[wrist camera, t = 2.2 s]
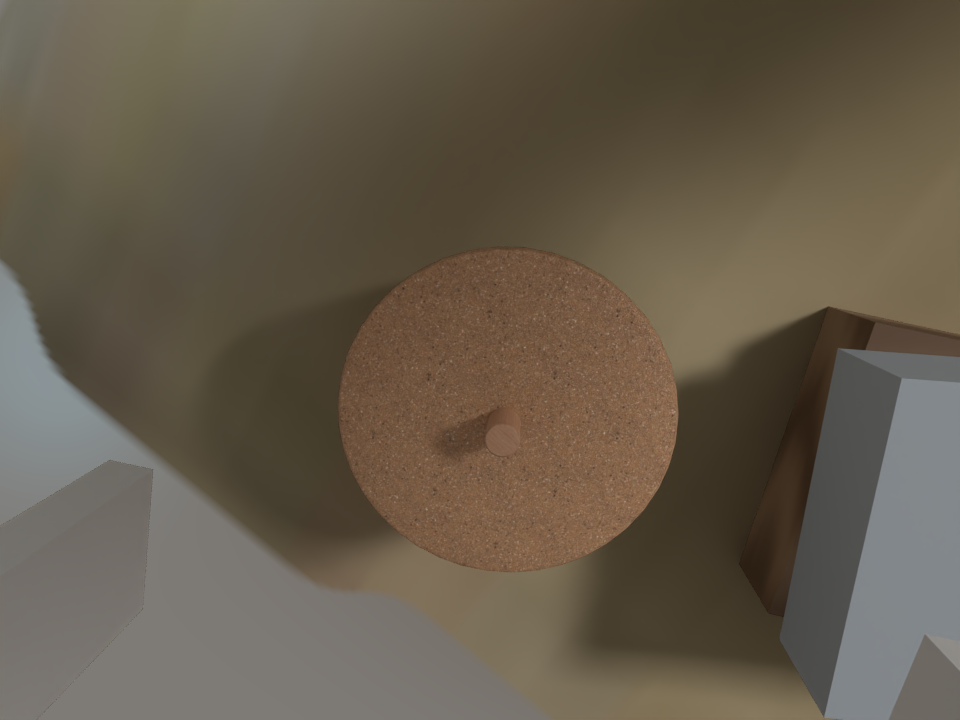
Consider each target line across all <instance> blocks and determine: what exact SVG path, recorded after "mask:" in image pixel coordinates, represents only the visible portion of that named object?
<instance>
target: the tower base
mask: <svg viewBox="0 0 960 720" xmlns="http://www.w3.org/2000/svg"><path fill="white" fill-rule="evenodd" d="M838 348H840V349H854V350H868V351H882V352H896V353H910V354H924V355H937V356H951V357H960V335H959V334H954V333H949V332H945V331H940V330H935V329H931V328H926V327H921V326H917V325H912V324H907V323H903V322H898V321H894V320H889V319H884V318H880V317H875V316H870V315H866V314H861V313H856V312H852V311H847V310H842V309H838V308H833V307H828V309H827V312H826V315H825V318H824V321H823V324H822V327H821V330H820V332H819V335H818V338H817V341H816V344H815V347H814V350H813V353H812V355H811V358H810V361H809V364H808V367H807V370H806V373H805V376H804V378H803V381H802V384H801V387H800V390H799V393H798V396H797V399H796V402H795V404H794V407H793V410H792V413H791V416H790V419H789V422H788V425H787V427H786V430H785V433H784V436H783V439H782V442H781V445H780V448H779V450H778V453H777V456H776V459H775V462H774V465H773V468H772V471H771V474H770V476H769V479H768V482H767V485H766V488H765V491H764V494H763V497H762V499H761V502H760V505H759V508H758V511H757V514H756V517H755V520H754V522H753V525H752V528H751V531H750V534H749V537H748V540H747V543H746V546H745V548H744V551H743V554H742V557H741V560H740V563H739V564H740V566H741V568H742V569H743V571H744V573H745V574H746V576H747V578H748V580H749V581H750V583H751V585H752V586H753V588H754V590H755V591H756V593H757V595H758V597H759V598H760V600H761V602H762V603H763V605H764V607H765V608H766V610H767V612H768V613H770V614H774V615H779V616H783V617H784V614H785V608H786V603H787V598H788V593H789V588H790V583H791V578H792V573H793V568H794V563H795V558H796V553H797V548H798V543H799V539H800V534H801V529H802V524H803V519H804V514H805V509H806V504H807V499H808V494H809V489H810V484H811V479H812V474H813V469H814V464H815V459H816V454H817V449H818V444H819V439H820V434H821V429H822V424H823V419H824V414H825V409H826V404H827V399H828V394H829V389H830V384H831V379H832V374H833V370H834V365H835V360H836V355H837V350H838Z"/></svg>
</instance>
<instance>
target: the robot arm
mask: <svg viewBox="0 0 960 720" xmlns="http://www.w3.org/2000/svg"><path fill="white" fill-rule="evenodd" d="M152 478H153V469H149V468H144V467H139V466H134V465H130V464H125V463H121V462H116V461H111V460H109V461H107V462H106V463H104V464H102V465H101V466H99V467H97V468H96V469H94V470H92V471H91V472H89V473H87V474H86V475H84V476H82V477H81V478H79V479H77V480H76V481H74V482H72V483H71V484H69V485H67V486H66V487H64V488H63V489H61V490H59V491H57V492H56V493H54V494H53V495H51V496H49V497H47V498H46V499H44V500H42V501H41V502H39V503H37V504H36V505H34V506H32V507H31V508H29V509H27V510H26V511H24V512H23V513H21V514H19V515H18V516H16V517H14V518H13V519H11V520H9V521H8V522H6V523H5V524H3V525H1V526H0V720H37V719H38V718H39V717H40V716H41V715H42V714H43V713H44V712H45V711H46V710H47V708H49V706H50V705H51V704H52V703H53V702H54V701H55V700H56V699H57V698H58V697H59V696H60V695H61V694H62V693H63V692H64V691H65V690H66V689H67V688H68V687H69V686H70V685H71V684H72V682H73V681H74V680H75V679H76V678H77V677H78V676H79V675H80V674H81V673H82V672H83V671H84V670H85V669H86V668H87V667H88V666H89V665H90V664H91V663H92V661H94V659H95V658H96V657H97V656H98V655H99V654H100V653H101V652H102V651H103V650H104V649H105V648H106V647H107V646H108V645H109V644H110V643H111V642H112V641H113V640H114V639H115V638H116V636H117V635H118V634H119V633H120V632H121V631H122V630H123V629H124V628H125V627H126V626H127V625H128V624H129V623H130V622H131V621H132V620H133V619H134V618H135V617H136V616H137V615H138V614H139V613H140V611H142V609H143V599H144V587H145V573H146V560H147V559H146V558H147V546H148V532H149V519H150V505H151V492H152ZM889 720H960V641H956V640H951V639H946V638H942V637H937V636H932V635H928V634H925V635H924V637H923V640H922V642H921V644H920V647H919V649H918V651H917V654H916V656H915V659H914V661H913V663H912V666H911V668H910V670H909V673H908V675H907V677H906V680H905V682H904V685H903V687H902V689H901V692H900V694H899V696H898V699H897V701H896V703H895V706H894V708H893V711H892V713H891V715H890V718H889Z"/></svg>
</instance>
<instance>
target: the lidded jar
mask: <svg viewBox="0 0 960 720" xmlns="http://www.w3.org/2000/svg"><path fill="white" fill-rule="evenodd" d="M678 416H679V414H678V399H677V388H676V384H675V379H674V375H673V371H672V367H671V363H670V361H669V358H668V356H667V354H666V351H665V349H664V347H663V344H662V342H661V340H660V338H659V336H658V335H657V333H656V332H655V330H654V328H653V327H652V325H651V324H650V322H649V321H648V319H647V318H646V316H645V315H644V314H643V313H642V312H641V310H640V309H639V308H638V307H637V306H636V305H635V304H634V303H633V302H632V300H631V299H630V298H629V297H628V296H627V295H626V294H625V293H624V292H623V291H621V290H620V289H619V288H618V287H616V286H615V285H614V284H612V283H611V282H610V281H609V280H607V279H606V278H605V277H604V276H602V275H600V274H599V273H597V272H595V271H593V270H592V269H590V268H588V267H586V266H584V265H583V264H581V263H579V262H577V261H574V260H571V259H568V258H566V257H563V256H560V255H557V254H555V253H551V252H546V251H541V250H536V249H530V248H524V247H492V248H484V249H476V250H470V251H466V252H463V253H459V254H456V255H453V256H449V257H446V258H443V259H441V260H439V261H437V262H435V263H433V264H431V265H429V266H427V267H425V268H423V269H420V270H418V271H417V272H416V273H414V274H413V275H411V276H410V277H408V278H407V279H406V280H404V281H403V282H401V283H400V284H399V285H397V286H396V287H394V288H393V289H392V290H391V291H390V292H389V293H388V294H387V295H386V296H385V297H384V298H383V299H382V300H381V301H380V302H379V303H378V304H377V305H376V306H375V307H374V309H373V310H372V312H371V313H370V314H369V316H368V317H367V318H366V320H365V321H364V323H363V324H362V325H361V327H360V329H359V331H358V333H357V335H356V337H355V339H354V341H353V343H352V345H351V347H350V349H349V351H348V354H347V357H346V361H345V364H344V367H343V370H342V374H341V380H340V387H339V395H338V420H339V429H340V434H341V439H342V445H343V449H344V452H345V455H346V458H347V460H348V463H349V466H350V469H351V472H352V474H353V475H354V477H355V479H356V481H357V483H358V484H359V486H360V488H361V490H362V492H363V494H364V495H365V496H366V498H367V499H368V500H369V502H370V503H371V504H372V505H373V507H374V508H375V509H376V511H377V512H378V513H379V514H380V515H381V516H382V517H383V518H384V519H385V520H386V521H387V522H388V523H389V524H390V525H391V526H392V527H393V528H394V529H395V530H396V531H397V532H399V533H400V534H401V535H403V536H404V537H406V538H407V539H408V540H410V541H411V542H412V543H414V544H415V545H417V546H419V547H420V548H422V549H424V550H426V551H428V552H430V553H432V554H434V555H436V556H437V557H440V558H443V559H445V560H448V561H451V562H454V563H457V564H459V565H462V566H467V567H472V568H476V569H481V570H486V571H500V572H522V571H535V570H541V569H545V568H550V567H554V566H559V565H563V564H565V563H568V562H570V561H573V560H576V559H578V558H581V557H584V556H586V555H588V554H589V553H591V552H593V551H595V550H597V549H598V548H600V547H602V546H604V545H606V544H607V543H608V542H610V541H611V540H612V539H614V538H615V537H616V536H618V535H619V534H620V533H621V532H623V531H624V530H625V529H627V528H628V526H629V525H630V524H631V523H632V522H633V521H634V520H635V519H636V518H637V517H638V516H639V515H640V514H641V513H642V512H643V511H644V509H645V508H646V506H647V505H648V503H649V502H650V501H651V499H652V498H653V496H654V495H655V493H656V492H657V490H658V489H659V487H660V484H661V482H662V480H663V478H664V476H665V474H666V471H667V469H668V467H669V464H670V461H671V457H672V454H673V450H674V446H675V443H676V436H677V426H678Z"/></svg>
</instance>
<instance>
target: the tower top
mask: <svg viewBox="0 0 960 720" xmlns="http://www.w3.org/2000/svg"><path fill="white" fill-rule="evenodd" d="M925 634H928V635H932V636H937V637H942V638H946V639H951V640H956V641H960V357H951V356H937V355H924V354H910V353H896V352H882V351H868V350H854V349H840V348H838V350H837V355H836V360H835V365H834V370H833V374H832V379H831V384H830V389H829V394H828V399H827V404H826V409H825V414H824V419H823V424H822V429H821V434H820V439H819V444H818V449H817V454H816V459H815V464H814V469H813V474H812V479H811V484H810V489H809V494H808V499H807V504H806V509H805V514H804V519H803V524H802V529H801V534H800V539H799V543H798V548H797V553H796V558H795V563H794V568H793V573H792V578H791V583H790V588H789V593H788V598H787V603H786V608H785V614H784V618H783V623H782V628H781V633H780V638H779V640H780V642H781V643H782V645H783V647H784V649H785V650H786V652H787V654H788V656H789V657H790V659H791V661H792V663H793V664H794V666H795V668H796V670H797V671H798V673H799V675H800V676H801V678H802V680H803V682H804V683H805V685H806V687H807V689H808V690H809V692H810V694H811V696H812V697H813V699H814V701H815V703H816V704H817V706H818V708H819V710H820V711H821V713H822V715H823V716H824V718H833V719H843V720H889V718H890V715H891V713H892V711H893V708H894V706H895V703H896V701H897V699H898V696H899V694H900V692H901V689H902V687H903V685H904V682H905V680H906V677H907V675H908V673H909V670H910V668H911V666H912V663H913V661H914V659H915V656H916V654H917V651H918V649H919V647H920V644H921V642H922V640H923V637H924V635H925Z"/></svg>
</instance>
